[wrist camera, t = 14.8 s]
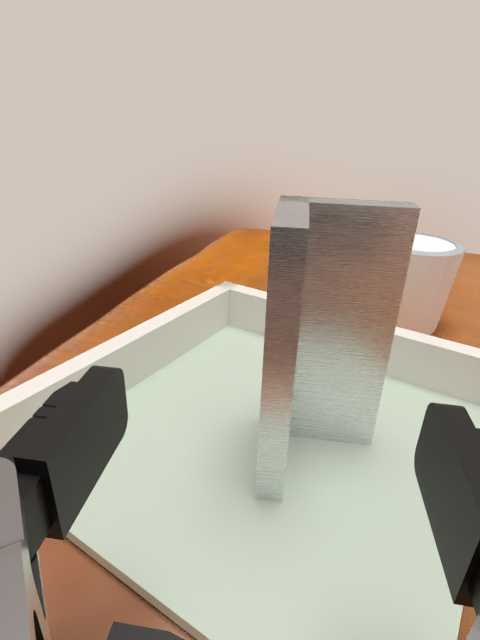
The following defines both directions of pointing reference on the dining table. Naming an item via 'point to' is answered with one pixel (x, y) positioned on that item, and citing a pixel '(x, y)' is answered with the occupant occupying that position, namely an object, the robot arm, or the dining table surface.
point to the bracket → (328, 322)
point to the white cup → (428, 282)
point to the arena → (240, 481)
